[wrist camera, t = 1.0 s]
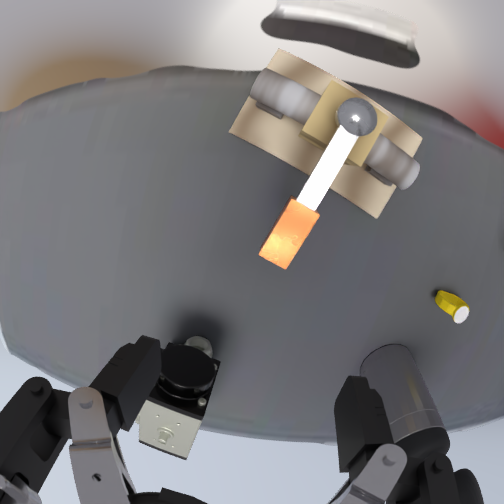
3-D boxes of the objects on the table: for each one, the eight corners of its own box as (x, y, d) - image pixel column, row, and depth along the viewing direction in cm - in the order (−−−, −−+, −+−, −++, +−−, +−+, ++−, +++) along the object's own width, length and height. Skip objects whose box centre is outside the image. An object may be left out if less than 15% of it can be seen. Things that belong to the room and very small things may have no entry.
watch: (460, 291, 34) (479, 309, 28) (452, 306, 35) (470, 326, 29) (435, 283, 34) (453, 302, 28) (427, 299, 35) (444, 320, 29)
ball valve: (178, 301, 39) (122, 386, 23) (233, 321, 39) (203, 419, 23) (163, 377, 45) (126, 452, 29) (207, 393, 46) (181, 473, 29)
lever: (376, 115, 19) (384, 111, 17) (288, 261, 24) (288, 271, 22) (345, 94, 18) (350, 89, 16) (257, 244, 23) (255, 253, 21)
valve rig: (417, 138, 28) (465, 136, 18) (373, 216, 32) (407, 242, 22) (278, 52, 26) (276, 12, 16) (231, 133, 31) (206, 122, 21)
